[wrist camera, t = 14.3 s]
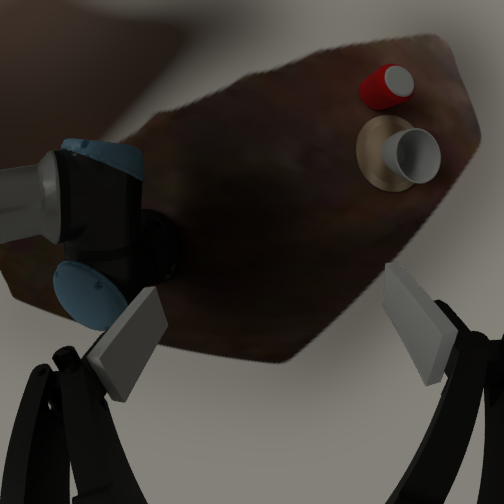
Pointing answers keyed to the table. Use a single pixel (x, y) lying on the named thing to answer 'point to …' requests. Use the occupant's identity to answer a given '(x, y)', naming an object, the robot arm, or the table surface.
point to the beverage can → (387, 87)
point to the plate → (370, 152)
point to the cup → (412, 155)
